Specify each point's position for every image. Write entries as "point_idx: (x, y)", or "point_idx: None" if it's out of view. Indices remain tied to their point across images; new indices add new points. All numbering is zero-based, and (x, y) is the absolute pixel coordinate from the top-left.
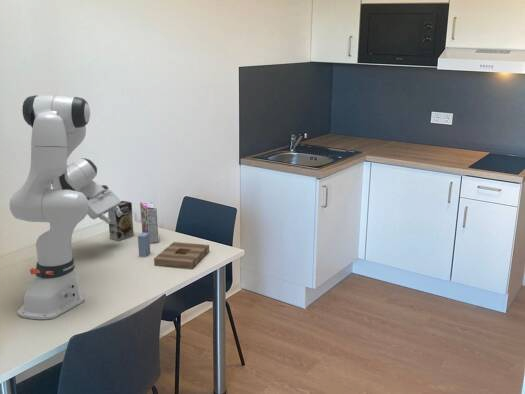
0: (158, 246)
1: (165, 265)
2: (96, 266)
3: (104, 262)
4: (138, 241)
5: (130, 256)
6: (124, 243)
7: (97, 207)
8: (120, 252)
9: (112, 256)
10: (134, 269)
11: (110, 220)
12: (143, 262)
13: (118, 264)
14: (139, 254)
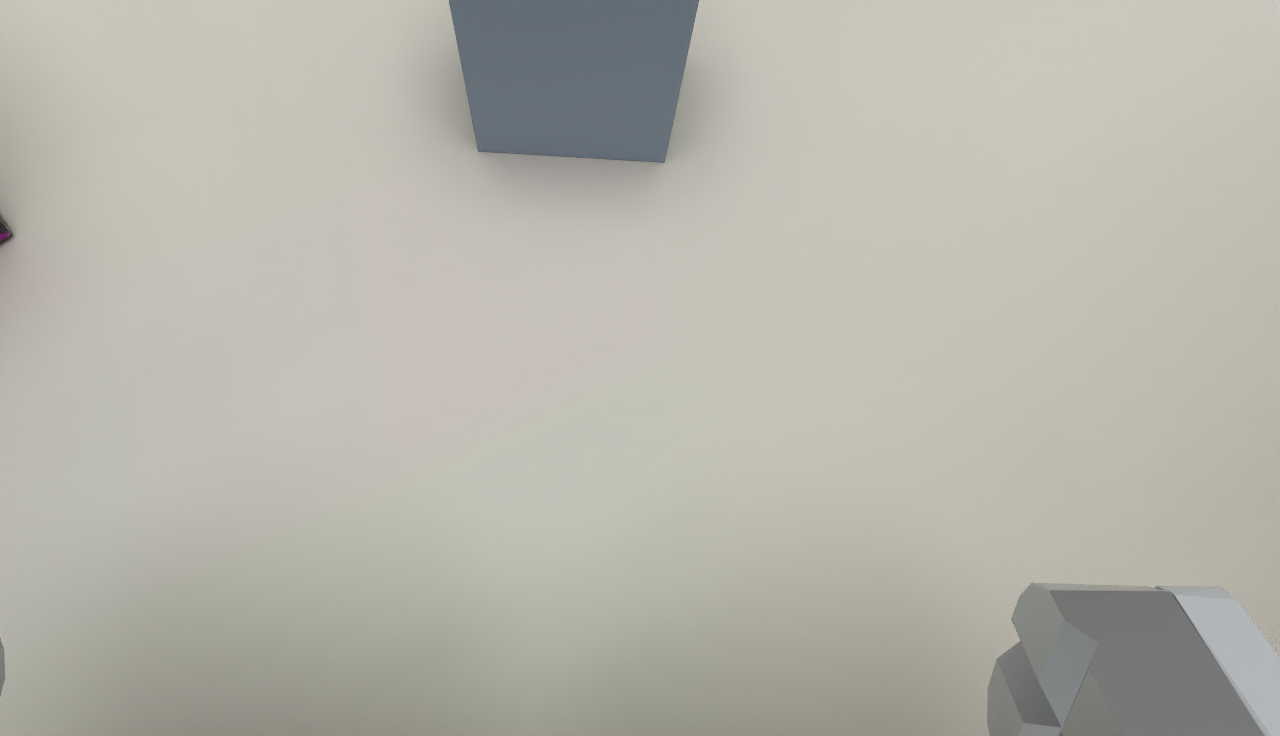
0: (135, 22)
1: None
2: None
3: None
4: (696, 1)
5: (698, 300)
6: (21, 728)
7: None
8: (546, 566)
9: (772, 620)
10: (1178, 29)
11: (1159, 588)
12: (892, 3)
13: (1079, 342)
14: (666, 137)
